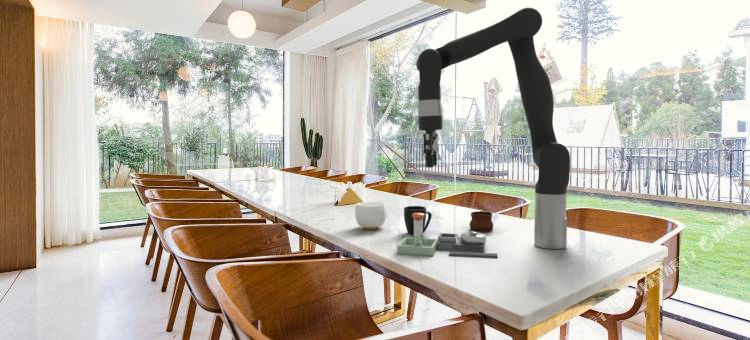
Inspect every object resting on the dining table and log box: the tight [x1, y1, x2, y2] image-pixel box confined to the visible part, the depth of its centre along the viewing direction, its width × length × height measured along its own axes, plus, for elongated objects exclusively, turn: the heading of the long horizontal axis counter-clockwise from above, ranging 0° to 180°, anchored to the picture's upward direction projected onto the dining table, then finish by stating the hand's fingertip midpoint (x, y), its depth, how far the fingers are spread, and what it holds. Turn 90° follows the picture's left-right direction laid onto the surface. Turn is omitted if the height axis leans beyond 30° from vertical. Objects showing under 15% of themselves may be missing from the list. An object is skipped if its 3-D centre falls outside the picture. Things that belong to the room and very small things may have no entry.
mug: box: [403, 205, 433, 236], centre depth 151 cm, size 8×12×10 cm
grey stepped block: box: [437, 230, 487, 253], centre depth 133 cm, size 15×10×5 cm
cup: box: [354, 201, 387, 231], centre depth 162 cm, size 12×12×10 cm
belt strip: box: [448, 250, 498, 259], centre depth 123 cm, size 14×2×1 cm, turn 78°
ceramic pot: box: [469, 210, 494, 233], centre depth 156 cm, size 18×18×7 cm
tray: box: [396, 236, 439, 257], centre depth 130 cm, size 11×11×2 cm
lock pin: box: [412, 213, 424, 247], centre depth 130 cm, size 4×4×11 cm
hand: (431, 166), depth 131 cm, fingers open, 8 cm apart
